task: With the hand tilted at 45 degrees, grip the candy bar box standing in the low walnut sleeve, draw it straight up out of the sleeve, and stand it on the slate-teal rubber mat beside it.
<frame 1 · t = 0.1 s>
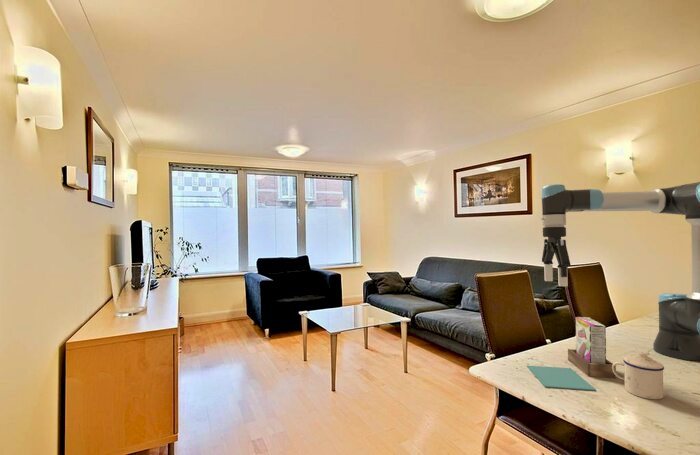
hand: (555, 283, 127), 28 cm above the table, tool pointing down, fingers open, 13 cm apart
candy bar box: (590, 369, 118), resting in walnut sleeve
teacup with lid: (637, 391, 102), on the table
rubber mat: (558, 377, 111), on the table
walnut sleeve: (590, 368, 118), on the table
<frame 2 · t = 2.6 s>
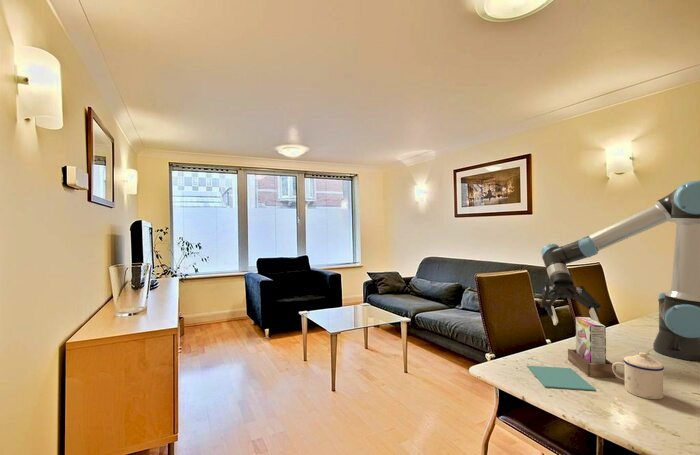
hand: (576, 324, 125), 13 cm above the table, tool tilted 45°, fingers open, 13 cm apart
nothing on the table moved.
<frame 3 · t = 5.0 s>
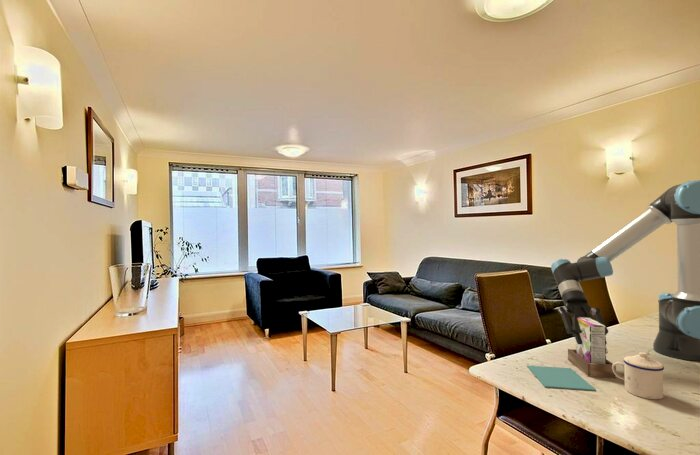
hand: (595, 353, 115), 7 cm above the table, tool tilted 45°, fingers closed on candy bar box, 5 cm apart
candy bar box: (590, 369, 118), resting in walnut sleeve, touching gripper
everything else where it was.
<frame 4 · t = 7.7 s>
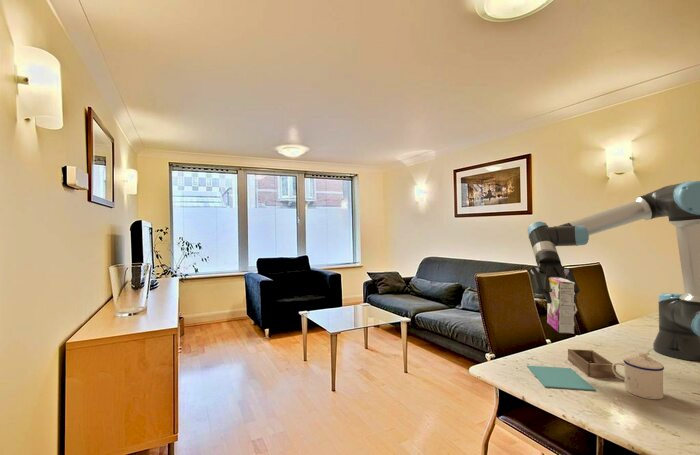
hand: (564, 311, 110), 21 cm above the table, tool tilted 45°, fingers closed on candy bar box, 5 cm apart
candy bar box: (559, 329, 114), point 15 cm above the table, touching gripper
everything else where it was.
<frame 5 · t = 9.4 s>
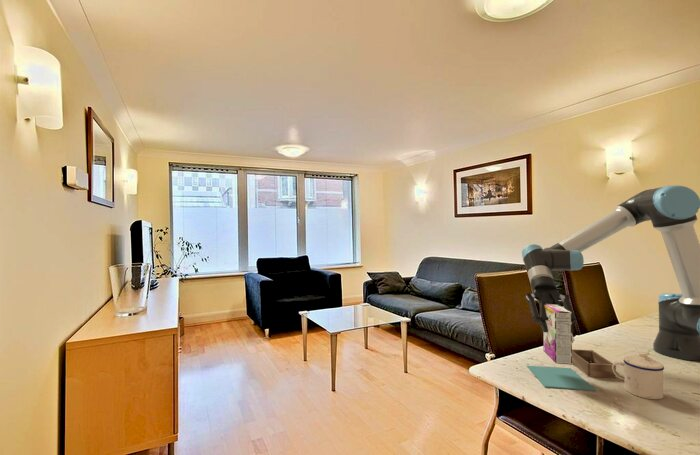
hand: (561, 341, 107), 13 cm above the table, tool tilted 45°, fingers closed on candy bar box, 5 cm apart
candy bar box: (556, 358, 111), point 6 cm above the table, touching gripper
everything else where it was.
when the fingers open (8 cm above the table, at t = 10.9 s): candy bar box drops 1 cm, resting on rubber mat.
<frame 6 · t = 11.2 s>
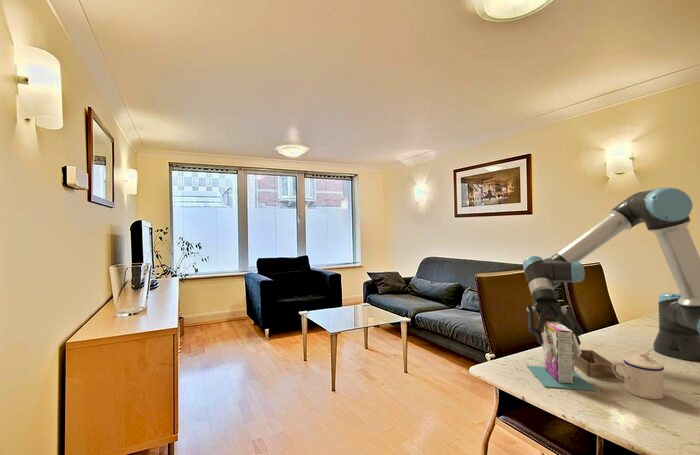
hand: (562, 354, 108), 9 cm above the table, tool tilted 45°, fingers open, 8 cm apart
candy bar box: (558, 377, 111), resting on rubber mat
everything else where it was.
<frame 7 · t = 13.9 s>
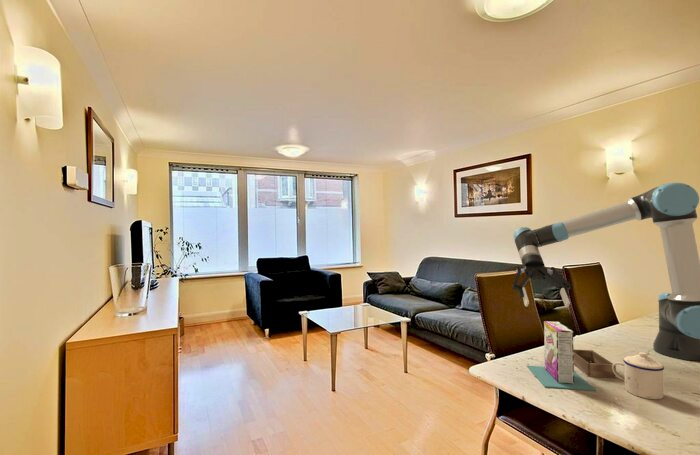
hand: (547, 304, 123), 21 cm above the table, tool tilted 45°, fingers open, 13 cm apart
nothing on the table moved.
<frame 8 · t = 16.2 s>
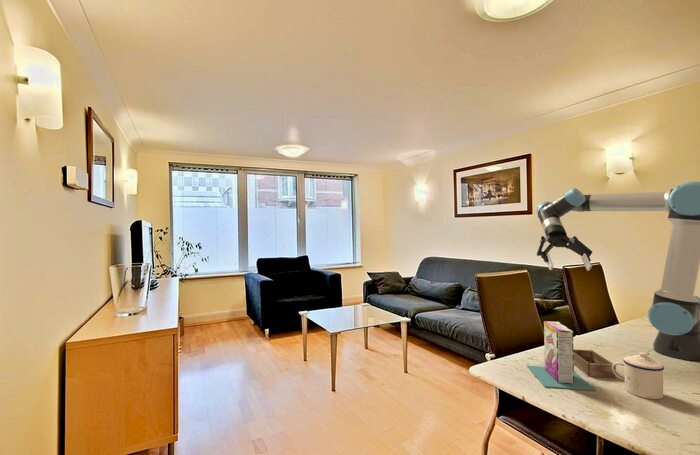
hand: (570, 268, 135), 33 cm above the table, tool tilted 45°, fingers open, 13 cm apart
nothing on the table moved.
at the end: candy bar box inside the target area on the rubber mat (0.1 cm from its centre), point 0.2 cm above the rubber mat's base; candy bar box tilted 0°; the gripper is holding nothing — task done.
